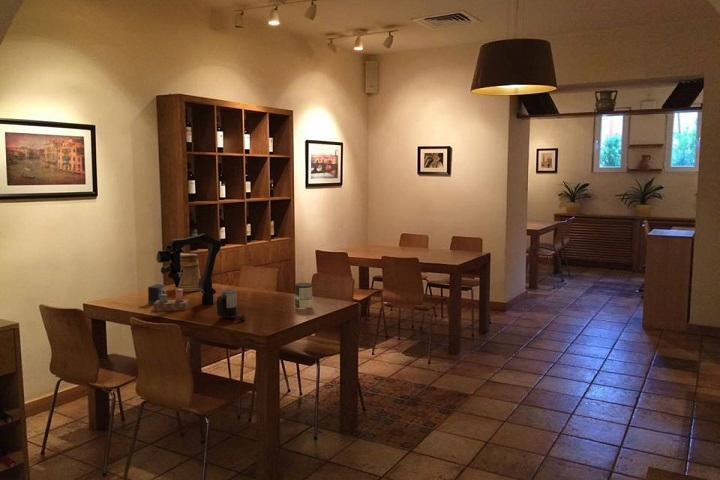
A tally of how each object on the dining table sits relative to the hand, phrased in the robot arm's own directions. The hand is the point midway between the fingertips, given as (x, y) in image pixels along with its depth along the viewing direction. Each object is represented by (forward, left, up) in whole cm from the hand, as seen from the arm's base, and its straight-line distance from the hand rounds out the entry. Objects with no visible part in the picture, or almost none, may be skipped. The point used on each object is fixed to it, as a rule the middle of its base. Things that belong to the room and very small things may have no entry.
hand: (176, 287), depth 343 cm
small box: (+14, -17, -13) cm, 26 cm away
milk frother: (-34, +28, -13) cm, 46 cm away
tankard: (+2, -57, -13) cm, 58 cm away
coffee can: (-74, +5, -13) cm, 75 cm away
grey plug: (+8, 0, -12) cm, 15 cm away
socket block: (+3, 0, -13) cm, 13 cm away
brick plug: (-1, 0, -9) cm, 9 cm away
